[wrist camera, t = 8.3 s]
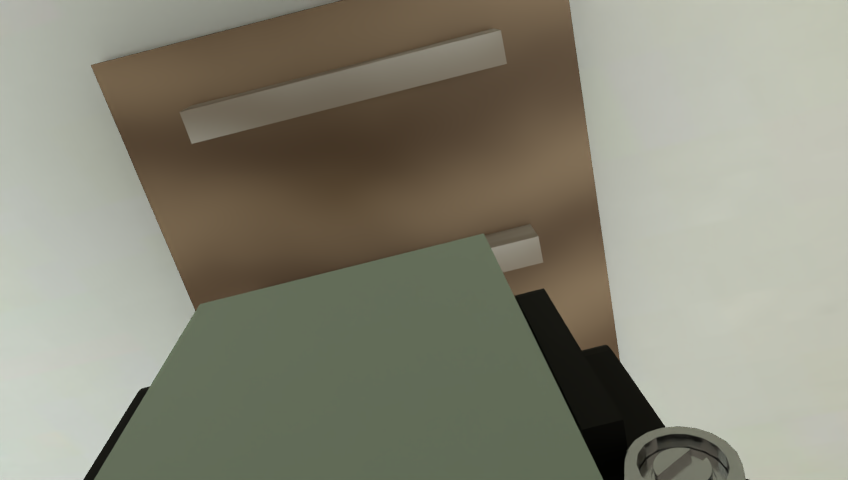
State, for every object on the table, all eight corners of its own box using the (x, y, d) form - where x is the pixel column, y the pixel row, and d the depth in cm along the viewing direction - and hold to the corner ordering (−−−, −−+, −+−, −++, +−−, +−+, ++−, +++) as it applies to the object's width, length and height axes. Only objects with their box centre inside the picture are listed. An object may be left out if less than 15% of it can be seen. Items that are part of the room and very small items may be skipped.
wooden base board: (103, 62, 24) (-71, 101, 15) (552, -54, 24) (667, -90, 14) (281, 487, 32) (242, 690, 23) (619, 405, 32) (721, 576, 22)
